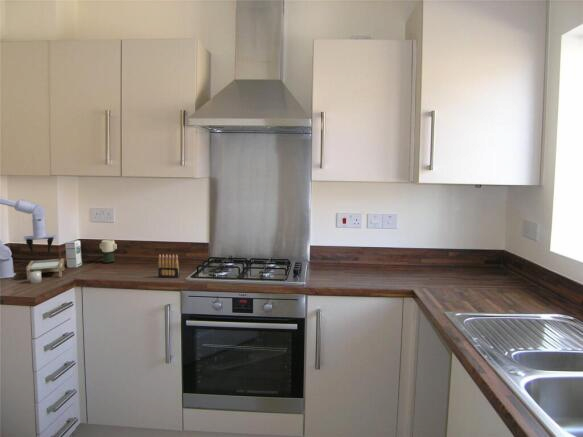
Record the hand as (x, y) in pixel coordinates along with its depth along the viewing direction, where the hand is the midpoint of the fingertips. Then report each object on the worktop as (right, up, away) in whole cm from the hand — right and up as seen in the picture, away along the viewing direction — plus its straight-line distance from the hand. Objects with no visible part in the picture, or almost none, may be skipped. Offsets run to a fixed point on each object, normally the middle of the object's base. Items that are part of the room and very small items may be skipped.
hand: (40, 252), depth 230 cm
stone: (+9, -13, -19) cm, 24 cm away
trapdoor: (+6, -6, -6) cm, 11 cm away
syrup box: (+11, -9, +14) cm, 20 cm away
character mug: (+26, -8, +24) cm, 36 cm away
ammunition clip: (+71, -12, -10) cm, 73 cm away
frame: (+6, -11, -5) cm, 14 cm away
